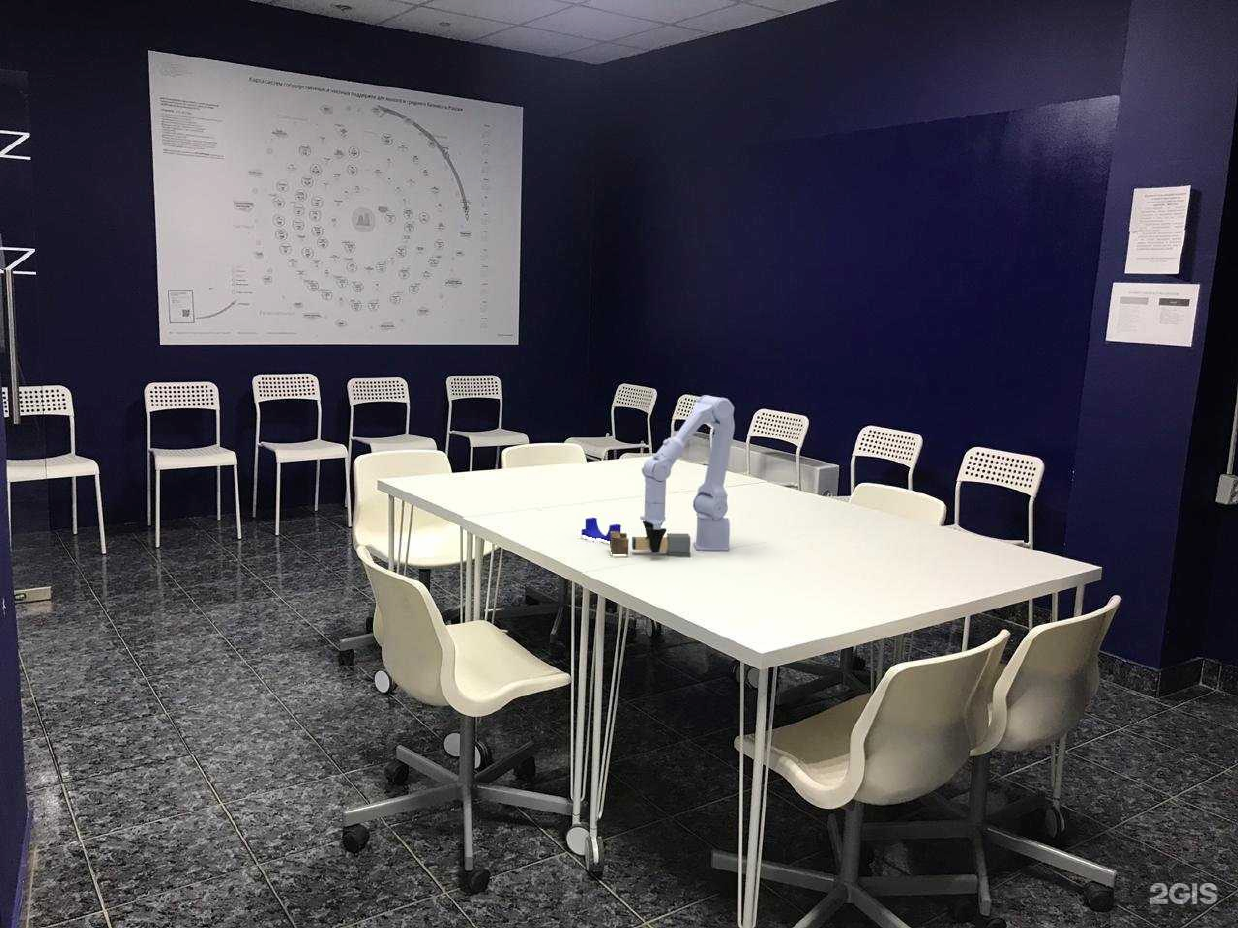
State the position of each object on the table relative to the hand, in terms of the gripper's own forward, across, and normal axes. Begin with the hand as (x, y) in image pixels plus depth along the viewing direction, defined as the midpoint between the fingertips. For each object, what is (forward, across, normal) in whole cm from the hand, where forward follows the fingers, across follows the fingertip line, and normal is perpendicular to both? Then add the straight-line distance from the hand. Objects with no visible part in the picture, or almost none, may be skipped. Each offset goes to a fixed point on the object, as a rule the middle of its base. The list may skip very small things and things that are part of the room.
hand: (653, 548), depth 281 cm
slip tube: (0, 0, +1) cm, 1 cm away
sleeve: (+1, 0, +7) cm, 7 cm away
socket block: (+1, 0, -10) cm, 10 cm away
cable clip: (+2, -15, -14) cm, 20 cm away
